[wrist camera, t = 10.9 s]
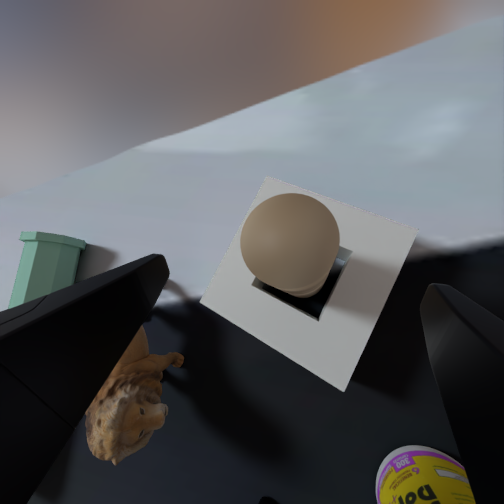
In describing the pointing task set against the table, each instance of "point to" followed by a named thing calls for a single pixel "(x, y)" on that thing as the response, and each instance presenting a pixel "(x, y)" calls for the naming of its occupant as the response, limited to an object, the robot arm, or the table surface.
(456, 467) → the supplement bottle
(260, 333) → the socket
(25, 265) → the container
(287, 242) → the peg
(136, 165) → the table surface
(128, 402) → the lion figurine
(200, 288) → the table surface
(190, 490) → the table surface
